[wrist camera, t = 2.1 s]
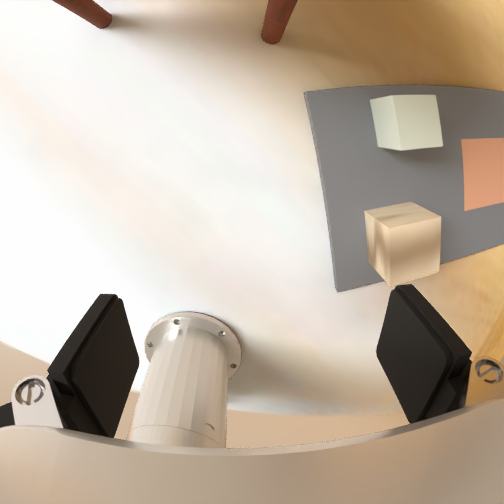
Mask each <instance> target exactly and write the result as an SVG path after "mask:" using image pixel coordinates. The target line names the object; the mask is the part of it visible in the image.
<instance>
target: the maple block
mask: <svg viewBox="0 0 504 504" xmlns="http://www.w3.org/2000/svg"><path fill="white" fill-rule="evenodd" d="M364 213H365V224H366V236H367V250H368V262H369V263H370V264H371V265H372V267H373V268H374V269H375V270H376V271H377V272H378V273H379V274H380V276H381V277H382V278H383V279H384V280H385V281H386V282H387V284H388V285H389V286H390V287H392V286H395V285H399V284H402V283H406V282H409V281H412V280H416V279H419V278H422V277H426V276H429V275H432V274H435V273H439V266H440V248H441V216H439V215H437V214H435V213H433V212H431V211H429V210H427V209H425V208H423V207H421V206H419V205H417V204H415V203H413V202H407V203H402V204H397V205H392V206H387V207H381V208H376V209H371V210H366V211H364Z"/></svg>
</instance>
